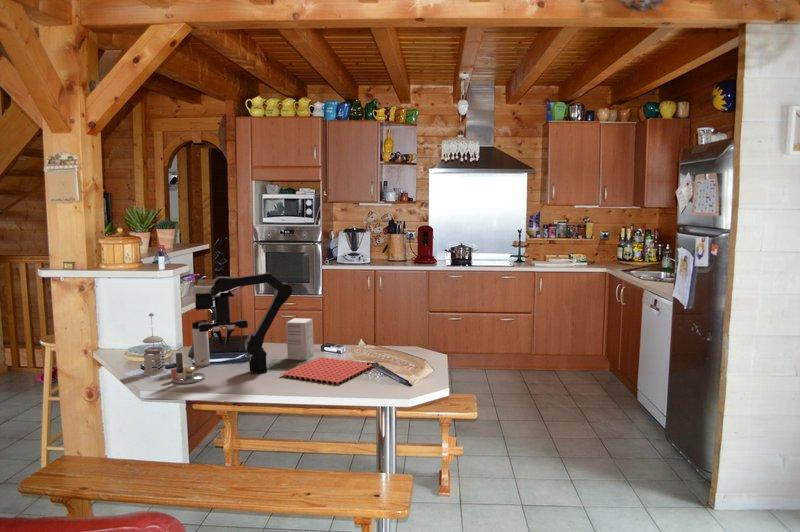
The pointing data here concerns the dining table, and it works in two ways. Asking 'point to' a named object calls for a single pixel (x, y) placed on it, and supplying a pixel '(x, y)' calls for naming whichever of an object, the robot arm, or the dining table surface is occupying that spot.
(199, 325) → the robot arm
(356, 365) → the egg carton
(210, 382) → the dining table surface
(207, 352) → the travel mug
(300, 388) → the dining table surface
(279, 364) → the dining table surface
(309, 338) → the supplement box
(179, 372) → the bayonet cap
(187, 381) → the post base
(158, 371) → the french press
